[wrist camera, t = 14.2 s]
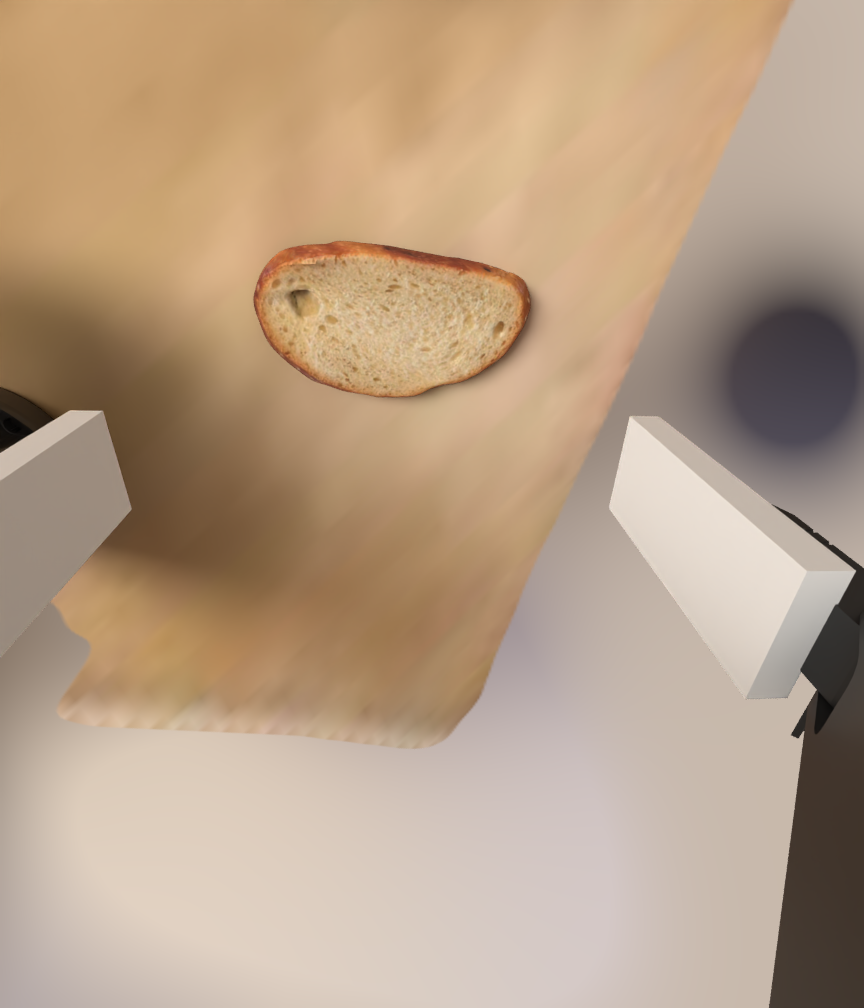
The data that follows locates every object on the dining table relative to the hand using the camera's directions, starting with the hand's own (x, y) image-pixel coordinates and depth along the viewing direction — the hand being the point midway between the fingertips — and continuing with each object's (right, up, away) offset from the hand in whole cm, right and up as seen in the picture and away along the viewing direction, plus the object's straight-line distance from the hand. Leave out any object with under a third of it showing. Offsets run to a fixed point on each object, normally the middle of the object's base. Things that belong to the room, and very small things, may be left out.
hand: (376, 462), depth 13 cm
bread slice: (-2, +15, +29) cm, 32 cm away
